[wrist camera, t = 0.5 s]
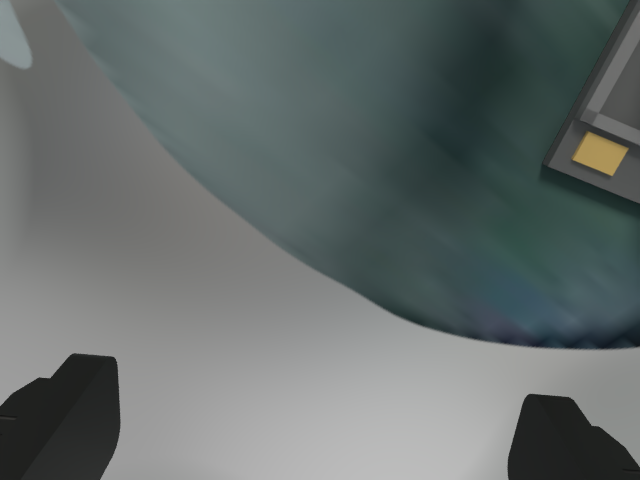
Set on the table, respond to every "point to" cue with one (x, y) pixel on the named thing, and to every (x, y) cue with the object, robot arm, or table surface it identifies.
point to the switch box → (607, 117)
